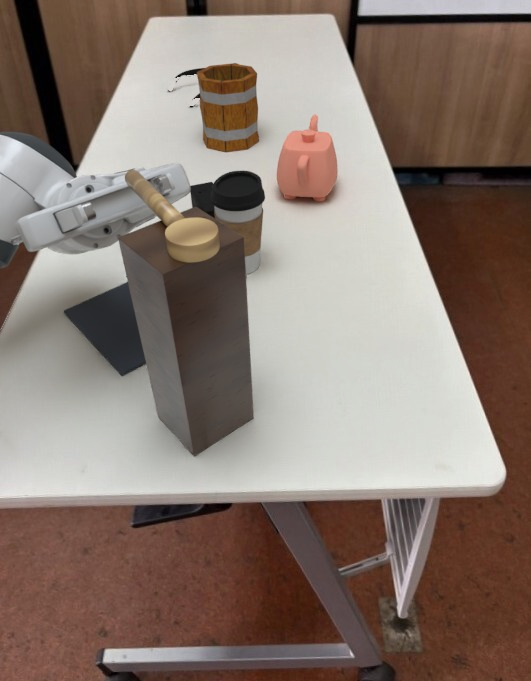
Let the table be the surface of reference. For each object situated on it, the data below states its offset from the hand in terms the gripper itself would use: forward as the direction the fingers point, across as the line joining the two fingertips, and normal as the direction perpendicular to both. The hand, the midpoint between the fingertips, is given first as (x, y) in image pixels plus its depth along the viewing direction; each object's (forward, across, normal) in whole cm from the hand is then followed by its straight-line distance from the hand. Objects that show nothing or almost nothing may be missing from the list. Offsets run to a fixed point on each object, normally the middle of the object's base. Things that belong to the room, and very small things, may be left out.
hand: (129, 196), depth 59 cm
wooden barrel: (-64, +56, -6) cm, 86 cm away
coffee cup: (-26, +24, +16) cm, 39 cm away
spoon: (+4, +1, +3) cm, 5 cm away
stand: (-5, 0, +28) cm, 28 cm away
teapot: (-36, +51, +10) cm, 63 cm away
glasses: (-88, +69, -21) cm, 114 cm away
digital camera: (-36, +26, +10) cm, 46 cm away
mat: (-24, +2, +16) cm, 30 cm away
